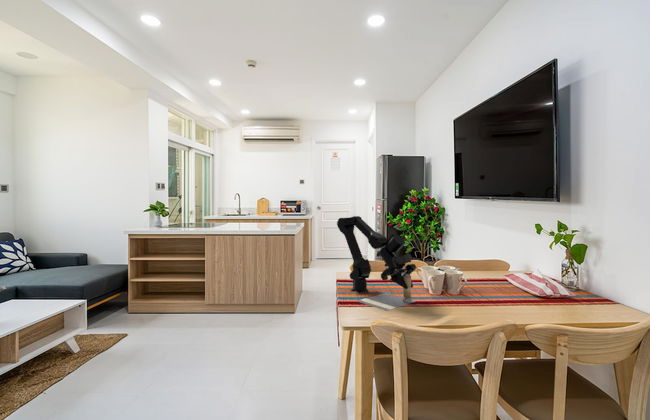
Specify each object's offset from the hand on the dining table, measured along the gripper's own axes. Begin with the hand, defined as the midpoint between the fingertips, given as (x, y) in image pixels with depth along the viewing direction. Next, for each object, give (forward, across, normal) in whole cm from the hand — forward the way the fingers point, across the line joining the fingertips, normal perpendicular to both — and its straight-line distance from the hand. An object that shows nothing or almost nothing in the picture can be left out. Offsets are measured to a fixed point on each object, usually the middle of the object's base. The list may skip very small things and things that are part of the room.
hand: (409, 287), depth 143 cm
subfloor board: (0, -6, +11) cm, 12 cm away
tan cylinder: (+4, 0, +6) cm, 7 cm away
